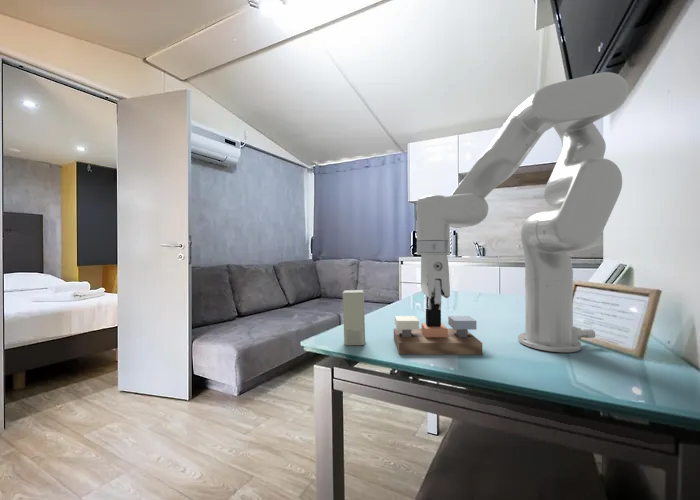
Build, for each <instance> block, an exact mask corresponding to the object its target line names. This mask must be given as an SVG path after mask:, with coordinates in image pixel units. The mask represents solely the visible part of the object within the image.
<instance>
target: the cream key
mask: <svg viewBox="0 0 700 500" xmlns="http://www.w3.org/2000/svg"><path fill="white" fill-rule="evenodd" d="M394 325H395V329H397V330H402V337H412V335H411V330H419V329H420V320H419V319H418V317H417V316H416V315H395V316H394Z"/></svg>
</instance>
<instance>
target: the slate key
mask: <svg viewBox="0 0 700 500" xmlns="http://www.w3.org/2000/svg"><path fill="white" fill-rule="evenodd" d="M447 316H448V317H447V318H448V319H447V320H448V322H447V324H448V325H449V326H450V328H451V329H454V330H456V336H457V337H468V332H469V331H470V330H475V331H476V330H477V320H476V319H475V318H473V317H472V316H470V315H447Z"/></svg>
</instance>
